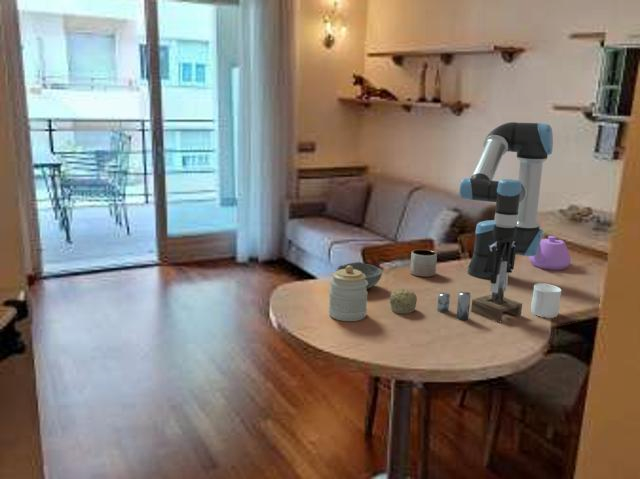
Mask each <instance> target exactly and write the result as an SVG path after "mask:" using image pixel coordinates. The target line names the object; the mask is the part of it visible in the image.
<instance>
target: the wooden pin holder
mask: <svg viewBox="0 0 640 479" xmlns="http://www.w3.org/2000/svg"><path fill="white" fill-rule="evenodd" d="M522 309H523V303H522V302H519V301H516V300H513V299H510V298H508V297H505V296H504V299H503V301H496V300H493V299H492V293H491V294H487V295H484V296H480V297H476V298H473V299H472V301H471V310H470V312H472V313H474V314H476V315H479V316H481V317H484V318H487V319H490V320H492V321H494V320H495V321H494V322H497V323H501V322H503V314H504V312H505V313H507V314H510V313H511V315H513V314H514V316H516V317H520V315H521V316H522ZM500 321H501V322H500Z"/></svg>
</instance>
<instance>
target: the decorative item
mask: <svg viewBox="0 0 640 479" xmlns="http://www.w3.org/2000/svg"><path fill="white" fill-rule="evenodd" d="M417 297H418V296H417V295H416V293H415V292H414V291H412V290H409V289H405V288H400V289H398V290H397V289H396V290H393V291H392V292H391V295H390V299H389V303H390V309H391V310H392V312H394V313H396V314H411V313H413V312H415V309H416V307H417V302H418V298H417Z"/></svg>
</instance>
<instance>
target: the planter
mask: <svg viewBox="0 0 640 479" xmlns="http://www.w3.org/2000/svg"><path fill="white" fill-rule="evenodd" d="M437 256H438V253H437V251H434V250H432V249H426V248H425V249H424V248H423V249H422V248H419V249H413V250H411V254H410V266H409V272H410V275H413V276H414V277H418V276H420V278H431V276H432V277H434V276H435V275H436V272H437V259H438V258H437Z"/></svg>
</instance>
